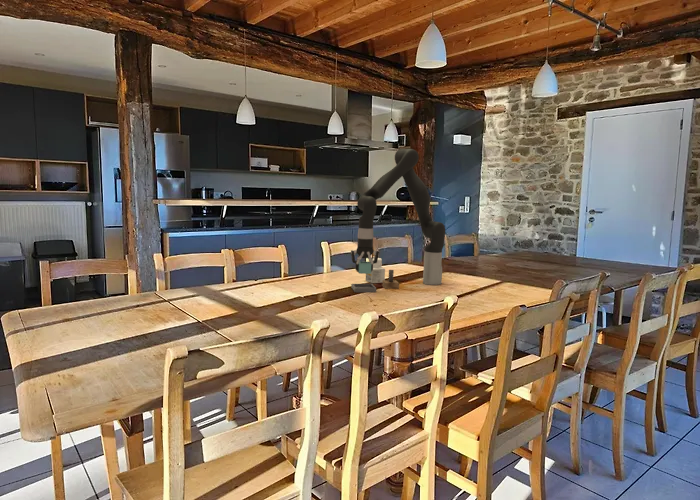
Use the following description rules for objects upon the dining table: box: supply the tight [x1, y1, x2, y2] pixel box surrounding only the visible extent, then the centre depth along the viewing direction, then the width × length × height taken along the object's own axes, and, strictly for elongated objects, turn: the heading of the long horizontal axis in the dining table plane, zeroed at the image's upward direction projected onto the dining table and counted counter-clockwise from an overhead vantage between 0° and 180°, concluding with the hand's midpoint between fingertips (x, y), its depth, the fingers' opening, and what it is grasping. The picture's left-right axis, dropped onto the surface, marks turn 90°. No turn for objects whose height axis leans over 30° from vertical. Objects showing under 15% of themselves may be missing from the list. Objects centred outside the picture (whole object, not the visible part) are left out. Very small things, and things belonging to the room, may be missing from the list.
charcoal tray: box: [350, 283, 377, 293], centre depth 237 cm, size 11×11×2 cm
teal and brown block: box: [381, 269, 400, 290], centre depth 244 cm, size 7×7×9 cm
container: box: [365, 256, 386, 284], centre depth 257 cm, size 8×8×13 cm
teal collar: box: [357, 261, 371, 275], centre depth 235 cm, size 6×6×5 cm
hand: (364, 271), depth 235 cm, fingers closed on teal collar, 5 cm apart
